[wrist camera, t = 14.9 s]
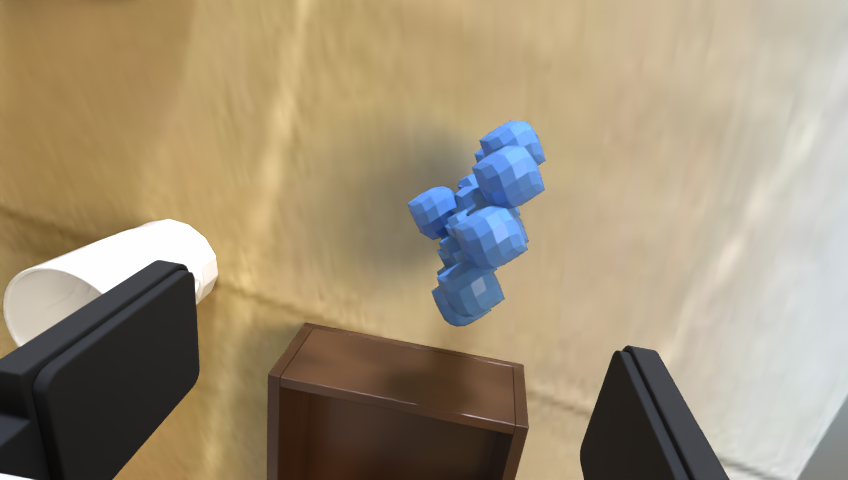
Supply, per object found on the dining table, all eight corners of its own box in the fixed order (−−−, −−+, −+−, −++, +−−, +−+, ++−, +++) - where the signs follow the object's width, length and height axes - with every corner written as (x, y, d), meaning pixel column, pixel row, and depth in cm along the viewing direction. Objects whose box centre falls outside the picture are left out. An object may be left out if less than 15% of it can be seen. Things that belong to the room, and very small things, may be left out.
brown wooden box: (298, 490, 43) (265, 561, 37) (305, 322, 36) (267, 374, 30) (481, 531, 42) (479, 612, 36) (523, 364, 35) (528, 428, 29)
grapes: (449, 86, 29) (419, 104, 18) (556, 119, 29) (594, 157, 18) (401, 255, 33) (353, 353, 22) (494, 284, 33) (493, 399, 22)
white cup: (231, 228, 35) (134, 291, 25) (221, 319, 38) (131, 405, 28) (129, 198, 35) (-4, 248, 26) (127, 290, 38) (7, 365, 29)
